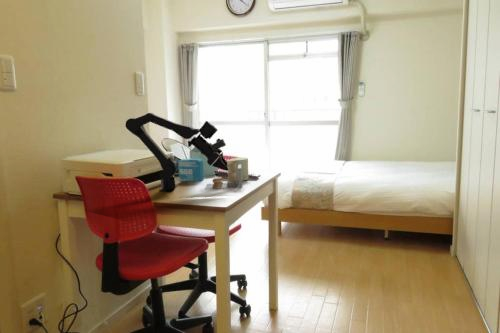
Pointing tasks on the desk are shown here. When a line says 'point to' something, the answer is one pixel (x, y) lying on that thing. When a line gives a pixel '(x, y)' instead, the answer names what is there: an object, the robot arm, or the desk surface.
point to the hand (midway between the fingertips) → (228, 168)
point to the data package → (191, 170)
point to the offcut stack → (217, 182)
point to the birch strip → (231, 171)
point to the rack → (230, 185)
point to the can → (244, 167)
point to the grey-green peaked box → (207, 168)
